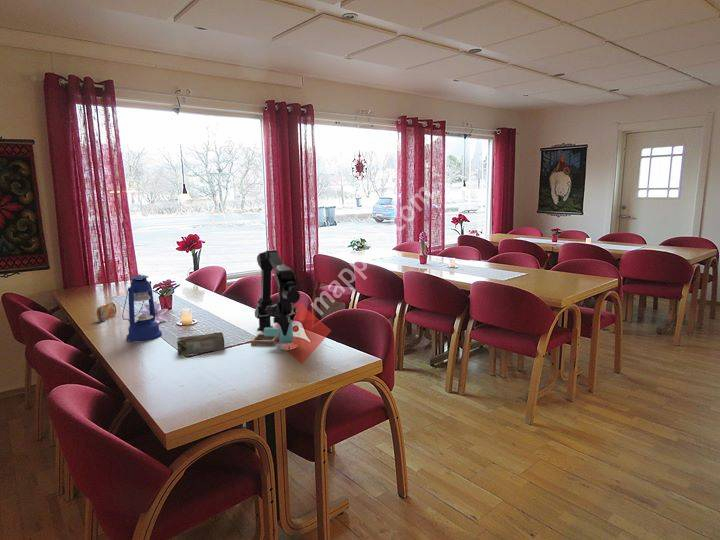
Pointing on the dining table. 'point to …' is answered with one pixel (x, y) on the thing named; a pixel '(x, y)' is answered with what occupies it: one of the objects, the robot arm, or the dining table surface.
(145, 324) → the lantern
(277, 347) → the coaster
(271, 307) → the robot arm
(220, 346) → the grey brown rectangular block
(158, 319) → the water lily
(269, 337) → the holder
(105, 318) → the tin
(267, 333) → the jug
